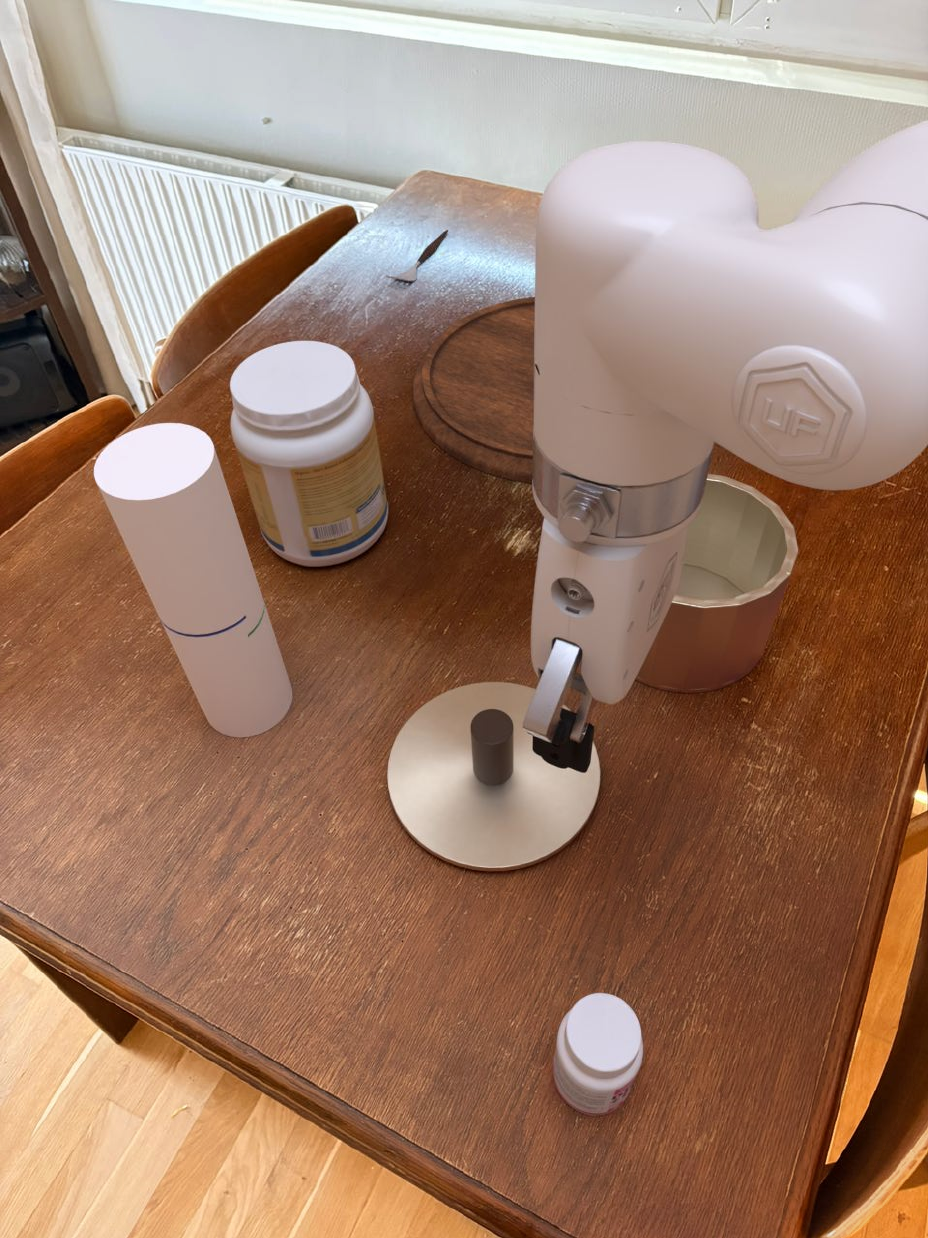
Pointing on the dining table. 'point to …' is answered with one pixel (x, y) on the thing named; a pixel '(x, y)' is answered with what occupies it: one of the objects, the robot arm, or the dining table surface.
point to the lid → (485, 781)
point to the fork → (420, 260)
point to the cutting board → (483, 390)
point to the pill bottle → (597, 1054)
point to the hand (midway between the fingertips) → (594, 694)
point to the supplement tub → (309, 452)
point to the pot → (723, 591)
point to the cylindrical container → (197, 572)
